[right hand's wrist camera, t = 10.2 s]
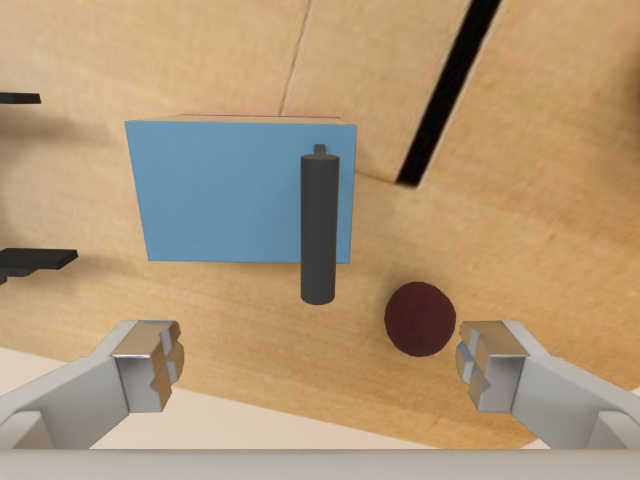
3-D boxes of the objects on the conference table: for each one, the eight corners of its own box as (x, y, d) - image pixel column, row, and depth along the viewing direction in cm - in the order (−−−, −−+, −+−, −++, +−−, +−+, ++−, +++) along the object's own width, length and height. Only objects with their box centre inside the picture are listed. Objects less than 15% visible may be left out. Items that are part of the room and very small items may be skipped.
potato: (384, 333, 43) (395, 376, 36) (375, 276, 40) (386, 311, 33) (445, 323, 42) (469, 365, 36) (441, 265, 39) (465, 298, 33)
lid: (355, 124, 25) (373, 136, 16) (348, 257, 28) (360, 322, 20) (132, 120, 24) (38, 130, 16) (154, 254, 28) (86, 318, 20)
